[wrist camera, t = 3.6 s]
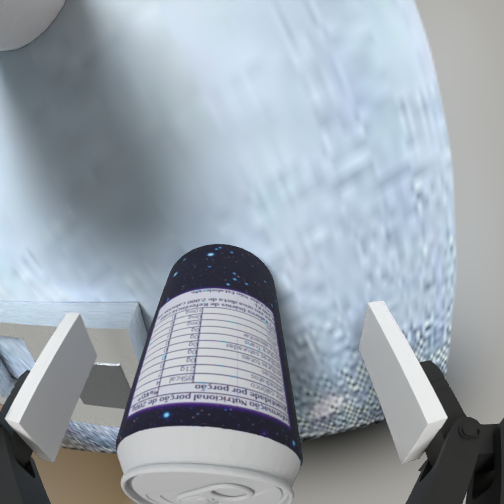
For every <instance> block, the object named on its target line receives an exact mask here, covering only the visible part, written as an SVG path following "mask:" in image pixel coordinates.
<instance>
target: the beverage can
mask: <svg viewBox="0 0 504 504" xmlns="http://www.w3.org/2000/svg"><path fill="white" fill-rule="evenodd" d="M116 450H117V454H118V458H119V461H120V464H121V467H122V470H123V473H124V475H123V477H122V480H121V487H122V489H123V491H124V492H125V493H126V494H127V496H128V497H130V498H131V499H132V500H134V501H135V502H137V503H139V504H291V503H292V501H293V498H294V493H293V490H292V486H293V483H294V481H295V479H296V477H297V475H298V473H299V470H300V468H301V465H302V460H303V458H302V451H301V444H300V438H299V431H298V425H297V418H296V412H295V406H294V399H293V393H292V387H291V381H290V375H289V369H288V363H287V356H286V350H285V344H284V338H283V333H282V327H281V321H280V315H279V309H278V303H277V297H276V292H275V286H274V281H273V278H272V275H271V273H270V271H269V270H268V268H267V267H266V266H265V264H264V263H263V262H262V261H261V260H260V259H259V258H258V257H256V256H255V255H253V254H252V253H250V252H248V251H246V250H244V249H242V248H239V247H236V246H231V245H225V244H213V245H206V246H202V247H199V248H196V249H194V250H192V251H190V252H188V253H186V254H185V255H184V256H182V257H181V258H180V259H179V260H178V261H177V262H176V264H175V265H174V266H173V268H172V270H171V272H170V274H169V277H168V279H167V282H166V285H165V288H164V290H163V293H162V296H161V299H160V302H159V304H158V307H157V310H156V313H155V316H154V319H153V322H152V325H151V328H150V331H149V334H148V337H147V340H146V343H145V346H144V349H143V352H142V355H141V358H140V361H139V365H138V368H137V371H136V374H135V377H134V381H133V384H132V387H131V391H130V394H129V397H128V401H127V404H126V408H125V411H124V415H123V418H122V422H121V426H120V429H119V433H118V437H117V441H116Z"/></svg>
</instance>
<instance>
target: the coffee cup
mask: <svg viewBox="0 0 504 504" xmlns="http://www.w3.org/2000/svg"><path fill="white" fill-rule="evenodd" d="M65 1H66V0H0V51H9V50H15V49H18V48H21V47H23V46H25V45H27V44H29V43H30V42H32V41H33V40H35V39H36V38H37V37H38V36H39V35H41V34H42V33H43V32H44V31H45V30H46V29H47V28H48V27H49V25H50V24H51V23H52V22H53V20H54V19H55V18H56V16H57V15H58V13H59V12H60V10H61V9H62V7H63V5H64V3H65Z"/></svg>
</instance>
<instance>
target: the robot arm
mask: <svg viewBox="0 0 504 504" xmlns="http://www.w3.org/2000/svg"><path fill="white" fill-rule="evenodd" d="M359 351H360V353H361V355H362V358H363V360H364V363H365V366H366V368H367V371H368V373H369V376H370V378H371V381H372V383H373V386H374V389H375V391H376V394H377V397H378V399H379V402H380V405H381V407H382V410H383V413H384V415H385V418H386V421H387V424H388V426H389V429H390V432H391V435H392V438H393V441H394V443H395V446H396V449H397V452H398V455H399V458H400V461H401V463H406V462H409V461H413V460H416V459H419V458H420V457H421V456H422V454H423V453H424V452H426V455H427V457H428V459H427V460H426V461H425V463H424V464H423V465H422V466H421V468H420V469H419V471H421V473H420V475H419V478H418V480H417V482H416V484H415V486H414V488H413V490H412V492H411V494H410V496H409V498H408V500H407V502H406V504H462V503H463V500H464V498H465V495H466V492H467V496H466V504H504V418H503V420H502V421H501V422H500V424H488V425H487V424H486V425H483V424H480V423H479V422H478V421H477V420H475V419H473V418H471V417H467V416H466V415H465V414H464V412H463V410H462V408H461V406H460V404H459V402H458V401H457V399H456V397H455V395H454V393H453V391H452V390H451V388H450V387H449V384H448V383H447V381H446V380H445V377H444V376H443V374H442V372H441V370H440V369H439V368H438V367H437V366H436V365H435V364H434V363H433V362H431V361H430V360H429V361H424V362H418V360H417V358H416V356H415V354H414V353H413V351H412V349H411V347H410V345H409V344H408V342H407V340H406V338H405V337H404V335H403V333H402V332H401V330H400V328H399V326H398V325H397V323H396V321H395V320H394V318H393V316H392V315H391V313H390V311H389V310H388V308H387V306H386V305H385V303H384V301H378V302H368V304H367V309H366V315H365V320H364V325H363V330H362V335H361V340H360V344H359ZM96 358H97V354H96V351H95V349H94V347H93V344H92V342H91V340H90V337H89V335H88V332H87V330H86V327H85V325H84V322H83V320H82V317H81V314H80V313H67V314H66V315H65V317H64V318H63V320H62V321H61V323H60V324H59V326H58V327H57V329H56V331H55V332H54V334H53V335H52V337H51V338H50V340H49V341H48V343H47V345H46V346H45V348H44V350H43V351H42V353H41V354H40V356H39V358H38V359H37V361H36V363H35V364H34V366H33V368H32V369H31V371H29V370H27V371H25V372H24V373H23V374H22V375H21V376H20V377H19V379H18V380H17V382H16V384H15V385H14V388H13V389H12V391H11V392H10V395H9V396H8V398H7V400H6V401H5V403H4V405H3V407H2V409H1V411H0V504H51V503H50V501H49V498H48V496H47V494H46V491H45V489H44V486H43V484H42V481H41V479H40V476H39V473H38V470H37V468H36V465H35V462H34V460H33V458H32V457H31V455H32V452H34V453H35V454H36V455H37V456H38V457H39V458H41V459H43V460H47V461H50V462H53V463H54V462H55V459H56V456H57V453H58V450H59V448H60V445H61V442H62V440H63V437H64V434H65V432H66V429H67V426H68V424H69V421H70V419H71V416H72V414H73V411H74V409H75V406H76V404H77V402H78V399H79V397H80V394H81V392H82V390H83V387H84V385H85V383H86V380H87V378H88V376H89V374H90V371H91V369H92V367H93V365H94V362H95V360H96Z"/></svg>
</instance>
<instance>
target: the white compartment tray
mask: <svg viewBox="0 0 504 504" xmlns="http://www.w3.org/2000/svg"><path fill="white" fill-rule="evenodd" d="M67 313H80V314H81V317H82V320H83V322H84V325H85V327H86V330H87V332H88V335H89V337H90V340H91V342H92V344H93V347H94V349H95V351H96V354H97V358H96V360H95V362H94V365H93V367H92V369H91V371H90V374H89V376H88V378H87V380H86V383H85V385H84V387H83V390H82V392H81V394H80V397H79V399H78V402H77V404H76V406H75V409H74V411H73V414H72V416H71V419H70V420H72V421H78V422H84V423H90V424H96V425H103V426H110V427H118V428H120V426H121V422H122V418H123V415H124V411H125V408H126V404H127V401H128V397H129V394H130V391H131V387H132V384H133V381H134V377H135V374H136V371H137V368H138V365H139V361H140V358H141V355H142V352H143V349H144V346H145V343H146V340H147V337H148V334H147V331H146V327H145V324H144V320H143V317H142V313H141V310H140V306H139V302H28V301H0V336H7V337H15V338H23V340H24V342H25V344H26V346H27V348H28V350H29V352H30V353H31V355H32V357H33V359H34V361H35V363H36V361H37V359H38V358H39V356H40V354H41V353H42V351H43V350H44V348H45V346H46V345H47V343H48V341H49V340H50V338H51V337H52V335H53V334H54V332H55V331H56V329H57V327H58V326H59V324H60V323H61V321H62V320H63V318H64V317H65V315H66V314H67ZM17 380H18V379H13V378H12V377H11V375H10V373H9V372H8V370H7V369H6V367H5V365H4V364H3V362H2V360H1V359H0V403H1V404H4V403H5V401H6V400H7V398H8V396H9V395H10V392H11V391H12V389H13V388H14V385H15V384H16V382H17Z"/></svg>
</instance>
